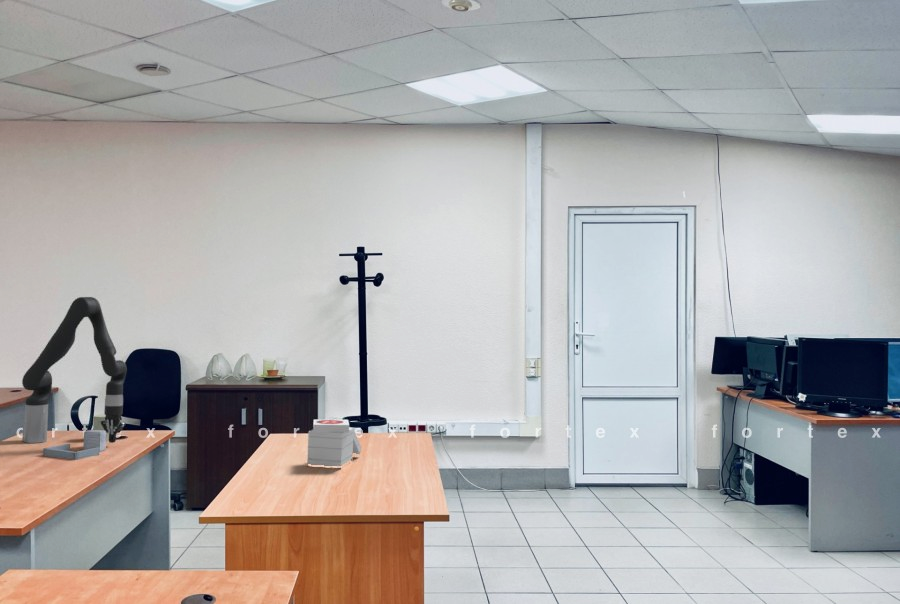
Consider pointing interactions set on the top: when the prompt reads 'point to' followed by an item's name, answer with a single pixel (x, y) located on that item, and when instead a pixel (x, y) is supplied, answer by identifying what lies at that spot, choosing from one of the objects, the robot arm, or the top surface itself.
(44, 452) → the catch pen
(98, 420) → the can
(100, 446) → the medicine box
